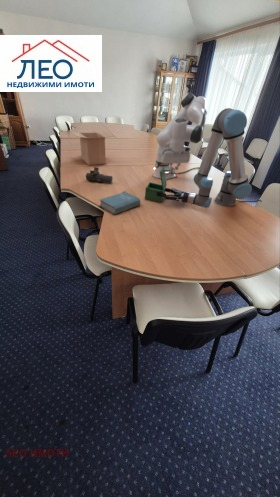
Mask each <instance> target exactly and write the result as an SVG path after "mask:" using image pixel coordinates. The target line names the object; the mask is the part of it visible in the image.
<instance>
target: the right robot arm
mask: <svg viewBox="0 0 280 497" xmlns="http://www.w3.org/2000/svg"><path fill="white" fill-rule="evenodd" d="M247 125H248V118H247V115H246V113H244V112H243V111H242V110H240V109H234V108H230V107H227V108H224V109H222V110H220V112H219V113H218V114H217V115H216V117H215V120H214V122H213V124H212V127H211V130H210V132H211V135H210V138H209V139H208V143H207V146H206V148H205V151H204V154H203V157H202V158H201V159H202V160H201V162H200V164H199V167H200V168H198V171H197V173H195V175H194V176H193V182H194V184H195V185H196V186H197V188H198V193H194V192H189V191H184V190H180V189H177V188H174V187H172V188H169V187H166V190H165V193H160V192H157V196H160V197H164V198H163V199H164V200H167V201H175V202H179V201H180V200H181V202H182V203H185V204H189V205H191V206H192V205H194V206H198V207H201V208H206V209H207V208H210V206H211V203H212V200H213V198H212V197H211V196H210V193H211V191H212V187H213V185H214V184H213V183H214V180H213V178H211V177H209V174H210V172H211V169H212V166H213V164H214V161H215V159H216V157H217V154H218V151H219V149H220V146H221V144H222V141H223V140H224V141H225V142H226V148H227V157H228V164H229V170H227V171H225V173H224V174H223V179H222V182H221V186H220V189H219V191H218V193H217V194H216V196H215V198H214V202H215V203H216V204H217V205H220V206H223V207H234V206H236V204H237V202H239V203H256V202H261V203H262V200H261V199H257V200H243V199H246V198H248V196H250V195H251V193H252V191H253V188H252V185H251V183H249V175H247V174H246V168H245V166H246V165H245V157H244V144H243V136H244V135H245V134H246V133H245V129H246V128H247ZM167 193H168V194H167ZM169 193H170V194H169Z"/></svg>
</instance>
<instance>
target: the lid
mask: <svg viewBox="0 0 280 497" xmlns="http://www.w3.org/2000/svg"><path fill="white" fill-rule="evenodd" d="M165 171H171V172H169V173H165ZM174 172H175V173H176V170H175V167H173V170H165V169H164V167H163V168H162V169H161V171H160V177H161V178H160V182H161V185H162V190H163V191H164V189H165V188H167V187H168V184H167V179H166V176H165V174H171V175H173V174H174Z"/></svg>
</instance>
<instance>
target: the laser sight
mask: <svg viewBox="0 0 280 497" xmlns="http://www.w3.org/2000/svg"><path fill="white" fill-rule="evenodd" d="M85 179H86V180H87V181H90V182H97V183H107V184H108V183H109V184H112V183H113V175H106V174H104V173H100V171H99V167H95V166H94V167H93V170H91V169H90V170H89V172H86V174H85Z"/></svg>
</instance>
